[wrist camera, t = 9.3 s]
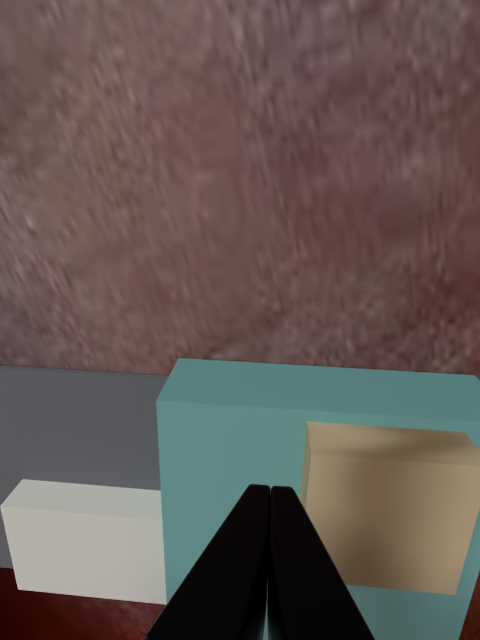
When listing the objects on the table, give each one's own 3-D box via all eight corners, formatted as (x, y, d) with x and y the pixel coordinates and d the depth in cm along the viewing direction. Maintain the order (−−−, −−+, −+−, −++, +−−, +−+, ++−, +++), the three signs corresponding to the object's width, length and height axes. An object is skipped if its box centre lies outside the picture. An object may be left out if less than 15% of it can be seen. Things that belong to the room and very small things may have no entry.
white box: (179, 492, 22) (170, 521, 21) (182, 572, 24) (174, 605, 23) (22, 479, 23) (-1, 506, 21) (37, 558, 25) (18, 589, 23)
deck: (474, 375, 19) (523, 424, 15) (416, 614, 24) (442, 695, 21) (178, 358, 20) (156, 400, 16) (185, 592, 25) (169, 664, 22)
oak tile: (465, 432, 16) (491, 467, 14) (436, 550, 18) (455, 595, 16) (307, 421, 16) (311, 454, 14) (296, 538, 18) (298, 580, 16)
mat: (179, 376, 20) (177, 379, 20) (185, 580, 25) (184, 585, 25) (-68, 361, 21) (-72, 363, 21) (-17, 561, 26) (-20, 565, 26)
